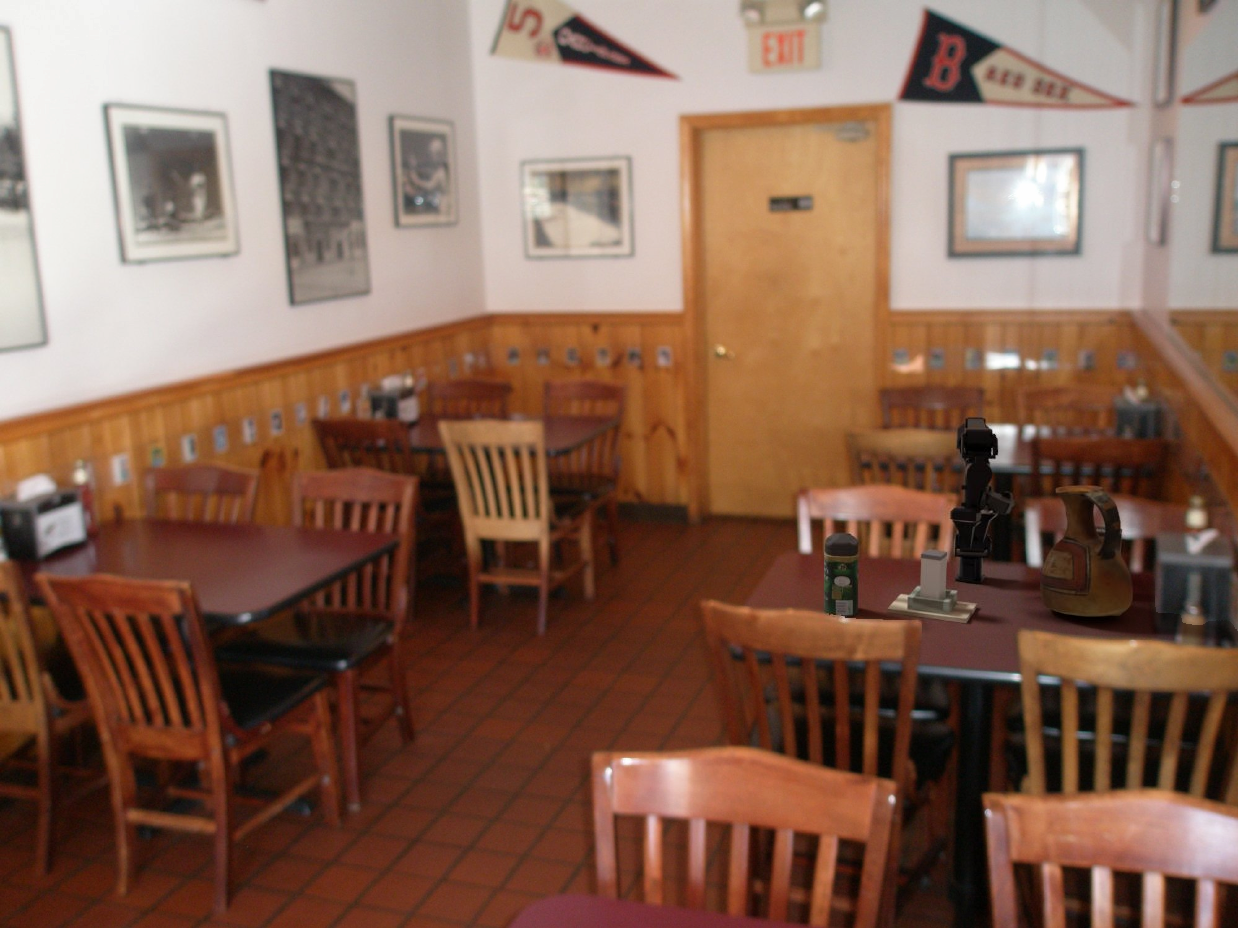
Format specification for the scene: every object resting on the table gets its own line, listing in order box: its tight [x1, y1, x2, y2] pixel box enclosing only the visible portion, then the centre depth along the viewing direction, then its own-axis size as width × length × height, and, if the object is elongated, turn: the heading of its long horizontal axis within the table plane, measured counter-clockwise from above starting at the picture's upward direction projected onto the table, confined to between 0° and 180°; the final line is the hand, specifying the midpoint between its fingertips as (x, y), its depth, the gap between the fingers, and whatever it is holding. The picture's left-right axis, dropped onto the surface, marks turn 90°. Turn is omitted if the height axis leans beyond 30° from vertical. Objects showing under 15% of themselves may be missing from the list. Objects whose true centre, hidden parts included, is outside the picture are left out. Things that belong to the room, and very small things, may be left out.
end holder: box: [886, 585, 978, 624], centre depth 267 cm, size 12×18×4 cm, turn 62°
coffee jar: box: [823, 532, 860, 618], centre depth 266 cm, size 10×8×19 cm
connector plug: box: [919, 548, 948, 600], centre depth 266 cm, size 5×5×13 cm
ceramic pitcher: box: [1039, 484, 1134, 618], centre depth 260 cm, size 20×20×30 cm
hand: (974, 545), depth 273 cm, fingers open, 9 cm apart
